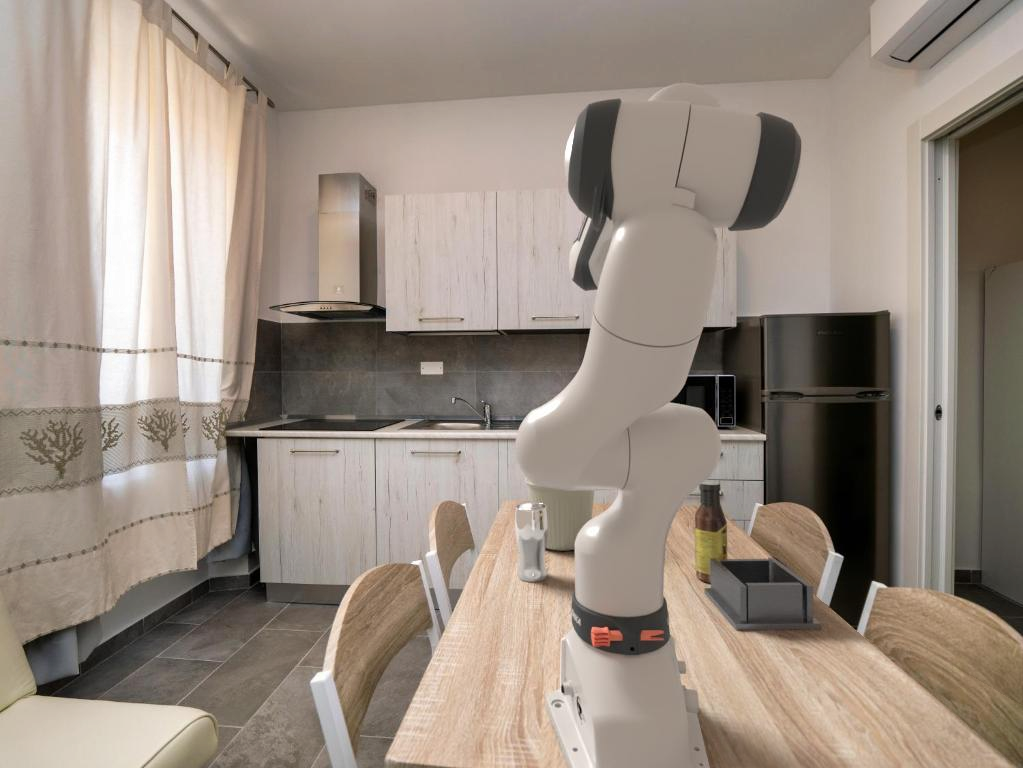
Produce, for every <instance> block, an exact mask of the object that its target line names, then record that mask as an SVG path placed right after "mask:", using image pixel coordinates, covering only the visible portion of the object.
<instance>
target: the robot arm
mask: <svg viewBox="0 0 1023 768" xmlns="http://www.w3.org/2000/svg"><path fill="white" fill-rule="evenodd" d="M795 127H796V126H795V125H794V124H793V122H790V121H788V120H786V119H784V118H782V117H780V116H777V115H773V114H770V113H766V112H762V111H760V112H758V113H757V114H751V113H748V112H744V111H739V110H734V109H730V108H725V107H722V105H721V103H720V101H719V99H718V98H717V96H716V95H715V94H714V93H713V92H711V91H710V90H709V89H708V88H706V87H704V86H703V85H700V84H696V83H692V82H678V83H673V84H670V85H667V86H665V87H663V88H662V89H660V90H658V91H657V92H655V93H654V94H653V95H651V97H650V98H649V99H648V100H637V101H635V100H634V101H623V102H622V100H621V98H611V99H603V100H598V101H595V102H592V103H589V104H588V105H586V107H584V108H583V110H582V111H581V112H580V113H579V114H578V117H577V119H576V122H575V124H574V126H573V128H572V130H571V131H570V134H569V137H568V139H567V142H566V146H565V151H564V162H563V163H564V165H563V166H564V175H565V179H566V183H567V189H568V194H569V196H570V198H571V200H572V201H573V203H574V204H575V206H576V207H577V209H578V211H580V212H581V213H582V214H583V215H584V219H583V221H582V223H581V226H580V230H579V232H578V235H577V236H576V238H575V240H574V241H573V243H572V247H571V249H570V252H569V256H568V267H569V274H570V277H571V280H572V282H573V283H574V284H576V286H577V287H579V288H580V289H582V290H583V291H584V292H586V291H587V292H588V291H596V290H597V291H596V295H595V300H594V305H593V310H592V311H593V312H592V319H591V325H590V329H589V334H588V335H589V336H588V341H587V344H586V348H585V352H584V357H583V360H582V362H581V365H580V367H579V369H578V371H577V372H576V374H575V375H574V377H573V378H572V379H571V381H570V382H569V383H568V384H567V386H565V388H564V389H562V390H561V392H560V393H558V394H557V395H556V396H554V398H552V399H550V400H549V401H546V403H544V404H543V405H541V406H538V407H537V408H534V409H532V410H531V411H530V412H529V413H528V414H527V415H526V416H525V417H524V419H523V420H522V422H521V423H520V425H519V427H518V429H517V433H516V437H515V444H514V445H515V446H514V447H515V449H514V451H515V457H516V460H517V464H518V466H519V468H520V470H521V472H522V475H524V476H525V479H526V478H527V479H528V480H529V481H530V482H531V483H532V484H533V485H536V486H542V487H547V488H552V489H559V490H565V491H592V490H594V491H616V490H617V491H618V494H617V496H616V498H615V500H614V501H613V503H612V504H611V505H610V506H609V507H608V508H607V509H606V510H605V511H603V512H601V513H599V514H598V515H596V516H594V517H592V519H591V520H589V521H588V522H587V523H586V524H585V525H584V526H583V527H582V528H581V530H580V531H579V533H578V535H577V537H576V540H575V549H574V590H573V591H572V594H571V595H572V597H571V603H570V612H571V624H572V627H570V629H569V630H568V632H567V633H566V634H565V635H563V637H562V638H561V640H560V652H559V653H560V657H559V660H560V661H559V688H558V689H555V690H554V691H551V692H550V693H548V695H547V696H546V701H545V708H546V710H547V713H548V715H549V718H550V721H551V724H552V726H553V728H554V731H555V734H556V737H557V738H558V742H559V744H560V746H561V749H562V751H563V754H564V757H565V759H566V762H567V765H568V768H711V767H710V763H709V758H708V754H707V750H706V746H705V741H704V738H703V734H702V729H701V724H700V721H699V717H698V713H700V712H699V711H700V702H699V701H700V700H699V695H698V691H697V690H695V689H693V688H686V685H684V684H683V683H682V679H681V675H686V674H687V665H686V662H685V661H683V660H678V658H677V653H676V638H675V637H673V636H672V634H671V630H670V614H669V610H668V603H667V599H666V598H665V595H664V587H665V586H664V580H665V577H664V576H665V575H664V574H665V559H666V558H665V556H666V548H667V547H666V546H667V541H668V536H669V532H670V529H671V527H672V524H673V522H674V520H675V518H676V515H677V513H678V511H679V510H680V509H681V507H682V505H684V502H685V501H686V499H687V498H688V497H689V496H690V495H691V494H692V493H693V492H694V491H695V490H696V489H697V488H698V487H699V485H700V484H702V483H703V482H704V481H708V480H709V478H711V476H712V475H713V474H714V472H715V471H716V469H717V467H718V465H719V462H720V459H721V454H722V439H721V436H720V435H721V434H720V431H719V429H718V427H717V424H716V423H715V421H714V420H713V418H712V417H711V416H710V415H709V413H707V411H705V410H704V409H703V408H700V407H696V406H691V405H687V404H682V403H681V404H680V403H675V402H671V401H673V400H674V399H675V398H676V397H678V395H679V393H680V392H681V390H682V389H683V388H684V386H685V385H686V381H687V379H688V375H689V373H690V370H691V367H692V363H693V361H694V357H695V354H696V352H697V348H698V345H699V343H700V342H699V341H700V338H701V335H702V332H703V330H704V325H705V322H706V319H707V316H708V312H709V309H710V304H711V300H712V294H713V290H714V289H713V288H714V284H715V279H716V278H715V277H716V273H717V272H716V269H717V261H718V250H719V247H718V246H719V242H718V236H717V233H716V230H715V229H718V228H719V229H720V228H721V229H723V228H726V229H728V231H729V232H739V231H740V232H742V231H752V230H759V229H763V228H765V227H767V226H768V225H769V224H770V223H772V222H773V221H775V219H776V218H778V216H779V215H780V214H781V213H782V211H783V209H784V207H785V206H786V204H787V202H788V200H790V198H791V195H793V193H794V190H795V188H796V186H797V183H798V180H799V176H800V171H801V165H802V164H801V162H802V161H801V159H802V158H801V156H802V139H801V136H800V134H799V132H798V131H797V128H795Z"/></svg>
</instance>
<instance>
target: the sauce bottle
mask: <svg viewBox="0 0 1023 768" xmlns="http://www.w3.org/2000/svg"><path fill="white" fill-rule="evenodd" d="M698 487H699V491H700V492H699V493H700V501H699V502H700V505H699V507H698V508H697V510H696V512H695V515H694V519H695V520H694V552H695V553H694V554H695V555H694V559H695V561H694V562H695V570H696V578H697V579H698V580H700V581H702V582H704V583H707V584H708V583H709V584H711V581H710V558H716V559H717V560H718V561H719V559H729V558H728V524H727V523H728V522H727V519H726V517H725V514H724V510H723V508H722V504H721V500H720V499H721V497H720V496H721V495H720V491H721V483H720V482H717V481H712V480H711V481H709V480H706V481H704V482H703V483H702V484H700V485H699V486H698Z"/></svg>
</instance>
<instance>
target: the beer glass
mask: <svg viewBox="0 0 1023 768" xmlns="http://www.w3.org/2000/svg"><path fill="white" fill-rule="evenodd" d="M514 517H515V518H514V530H515V531H514V532H515V537H516V538H515V539H516V545H517V550H518V556H519V557H518V558H519V564H518V565H519V566H518V572H517V577H518V579H519V580H521V581H523V582H528V583H537V582H541V581H544V580H545V579H546V578H547V569H546V563H545V559H546V557H545V555H546V549H547V548H546V543H547V536H548V516H547V506H546V505H545V504H543V503H537V502H530V501H528V502H521V503H517V504H516V506H515V515H514Z"/></svg>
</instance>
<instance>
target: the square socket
mask: <svg viewBox="0 0 1023 768" xmlns="http://www.w3.org/2000/svg"><path fill="white" fill-rule="evenodd" d="M710 581H711V583H710V587H704V591H703V592H704V593H703V594H704V595H705V596H706V597H707V598H708V599H709V600H710V602H711V603H712V604H713V606H715V607H716V609H717V610H718V611H719V613H721V615H722V616H723V617H724V618H725V619H726V620H727V622H728V623H729V625H731V626H732V627H733V629H734V630H735V631H782V630H783V631H785V629H786V631H789V630H790V629H792V630H793V631H794V629H796V631H797V630H801V631H803V630H804V631H805V629H807V630H808V629H817V630H822V623H821V622H820V621H818V620H817V618H815V617H814V585H812V584H811V583H809V582H808V581H807V580H805V579H804V578H802V577H801V576H799V575H798V574H797V573H796V572H794V571H793V570H791V569H790V568H788V567H787V566H786V565H784V564H783V563H781V562H780V561H779V560H777V559H776V558H775V557H767V558H728V559H719V561H718V560H717V559H716V558H710ZM802 629H803V630H802ZM790 631H791V630H790ZM808 631H809V630H808Z"/></svg>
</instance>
